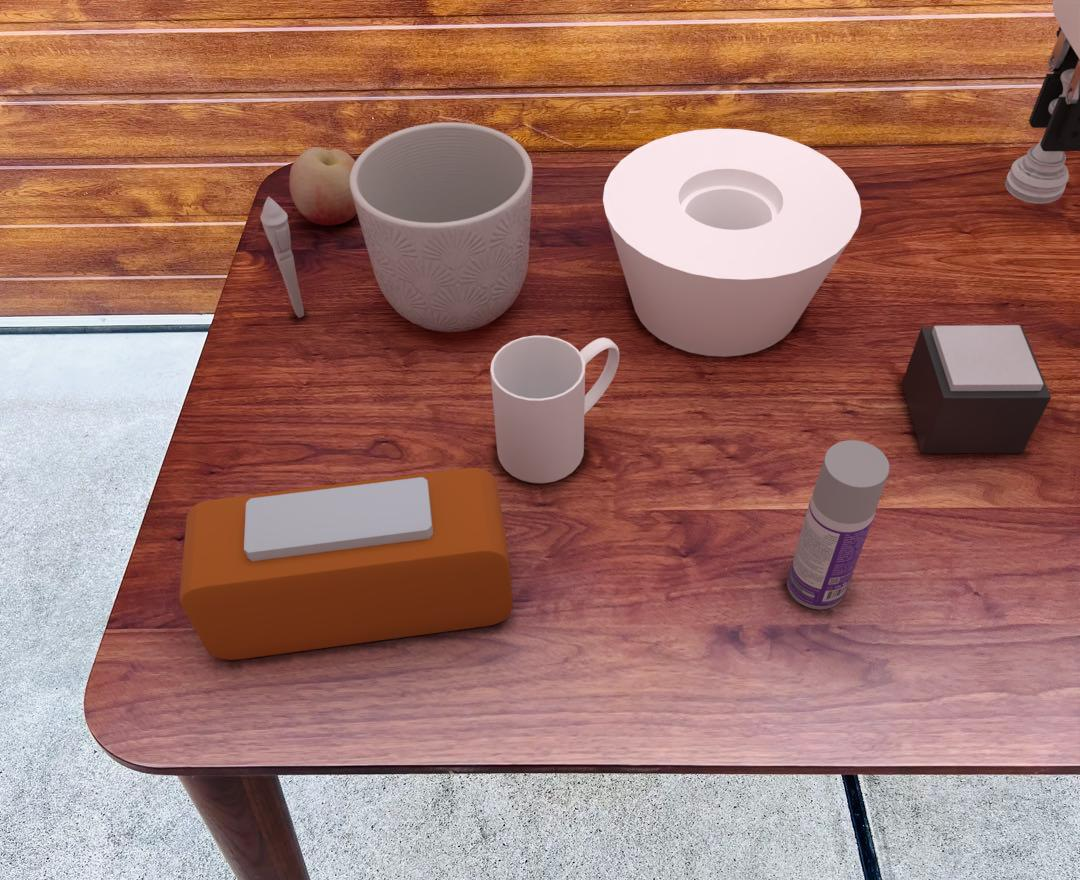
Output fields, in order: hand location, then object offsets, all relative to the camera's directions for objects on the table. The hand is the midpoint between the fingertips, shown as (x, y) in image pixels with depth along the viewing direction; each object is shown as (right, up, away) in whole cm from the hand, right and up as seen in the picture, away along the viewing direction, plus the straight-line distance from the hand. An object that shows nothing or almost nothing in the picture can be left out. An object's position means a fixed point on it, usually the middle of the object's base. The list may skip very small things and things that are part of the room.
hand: (1056, 135), depth 76 cm
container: (-17, -34, +6) cm, 39 cm away
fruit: (-63, +6, +39) cm, 74 cm away
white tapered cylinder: (-21, -6, +28) cm, 35 cm away
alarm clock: (-54, -36, +6) cm, 65 cm away
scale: (0, -19, +17) cm, 26 cm away
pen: (-64, -7, +28) cm, 70 cm away
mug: (-37, -22, +16) cm, 46 cm away
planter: (-48, -6, +29) cm, 56 cm away
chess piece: (0, -3, +4) cm, 5 cm away
